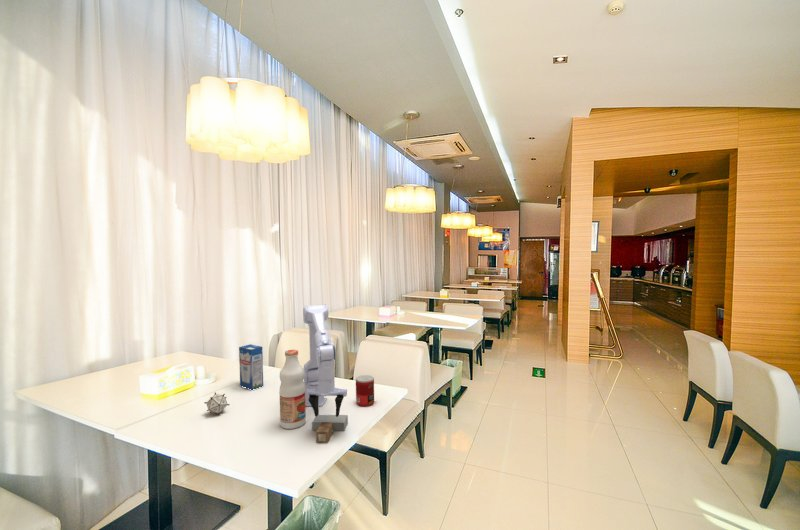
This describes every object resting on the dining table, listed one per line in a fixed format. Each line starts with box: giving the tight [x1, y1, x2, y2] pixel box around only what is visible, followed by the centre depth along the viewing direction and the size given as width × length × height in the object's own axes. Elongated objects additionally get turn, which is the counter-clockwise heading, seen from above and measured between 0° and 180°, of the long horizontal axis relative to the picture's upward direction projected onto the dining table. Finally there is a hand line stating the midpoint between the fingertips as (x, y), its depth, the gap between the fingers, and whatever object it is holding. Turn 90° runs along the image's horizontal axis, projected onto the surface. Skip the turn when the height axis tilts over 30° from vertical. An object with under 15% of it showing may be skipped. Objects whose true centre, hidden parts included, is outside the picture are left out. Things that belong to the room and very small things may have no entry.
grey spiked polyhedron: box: [204, 392, 231, 416], centre depth 141 cm, size 9×8×10 cm
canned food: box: [355, 374, 375, 408], centre depth 148 cm, size 8×8×11 cm
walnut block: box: [315, 422, 333, 444], centre depth 120 cm, size 4×4×7 cm
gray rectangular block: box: [311, 414, 349, 432], centre depth 128 cm, size 12×6×3 cm, turn 87°
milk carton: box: [238, 344, 264, 391], centre depth 170 cm, size 10×6×20 cm, turn 58°
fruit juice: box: [279, 349, 307, 430], centre depth 131 cm, size 9×9×28 cm
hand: (327, 415), depth 124 cm, fingers open, 7 cm apart
